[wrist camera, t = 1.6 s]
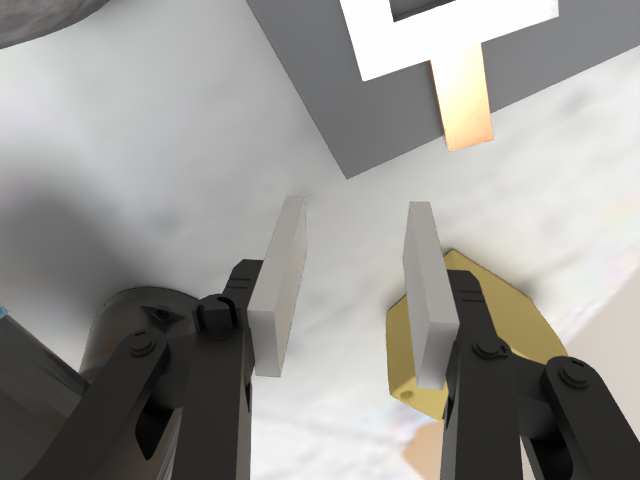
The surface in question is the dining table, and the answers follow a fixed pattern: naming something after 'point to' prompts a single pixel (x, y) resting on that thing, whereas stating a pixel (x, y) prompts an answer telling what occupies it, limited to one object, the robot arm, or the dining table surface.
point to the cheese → (509, 321)
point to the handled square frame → (442, 51)
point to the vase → (40, 17)
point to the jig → (427, 70)
